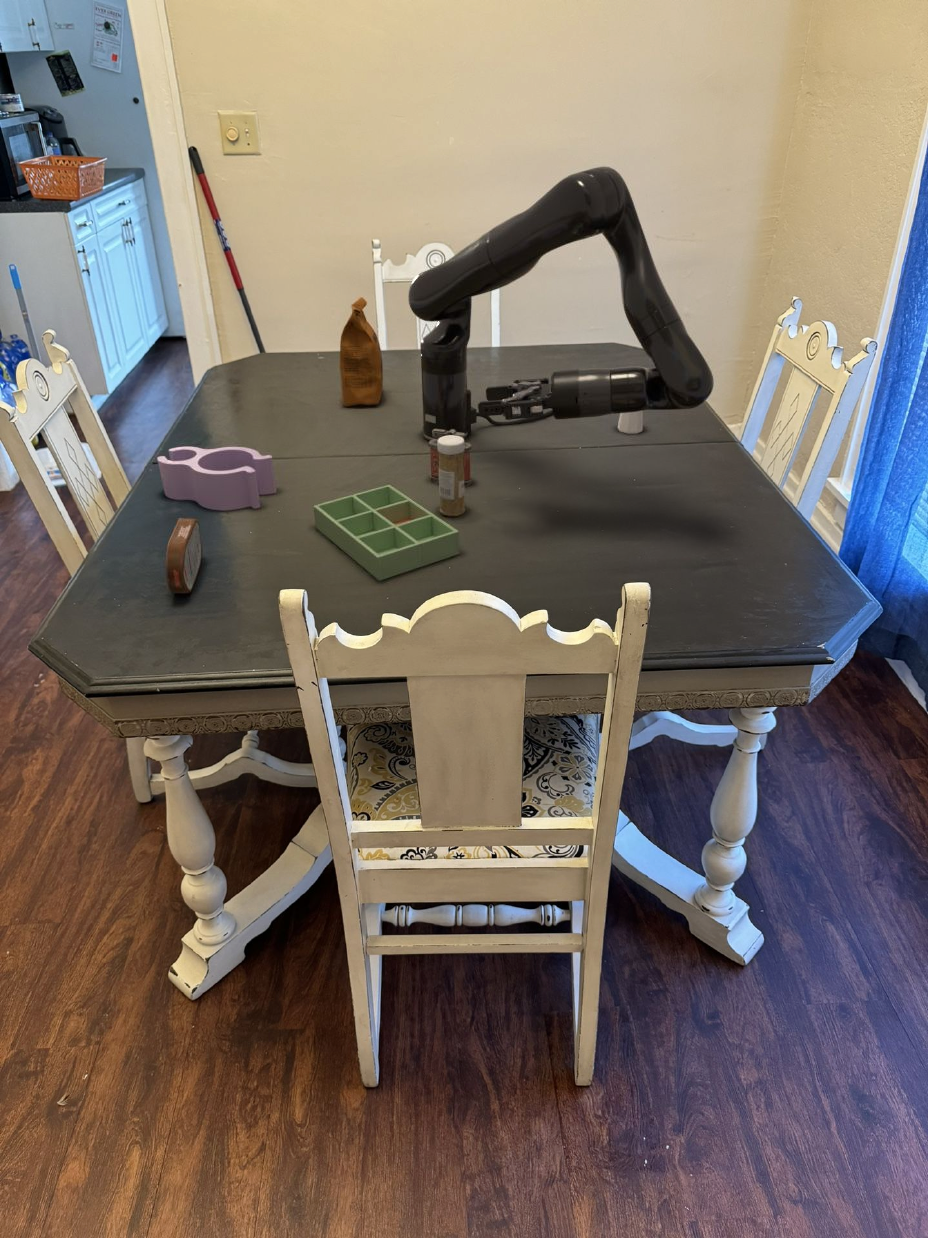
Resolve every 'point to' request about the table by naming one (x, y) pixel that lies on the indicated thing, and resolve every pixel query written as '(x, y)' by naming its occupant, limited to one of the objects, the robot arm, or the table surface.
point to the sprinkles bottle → (451, 475)
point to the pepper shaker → (631, 422)
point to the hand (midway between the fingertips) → (482, 401)
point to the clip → (217, 476)
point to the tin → (183, 556)
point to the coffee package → (360, 360)
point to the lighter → (435, 455)
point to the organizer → (386, 531)
